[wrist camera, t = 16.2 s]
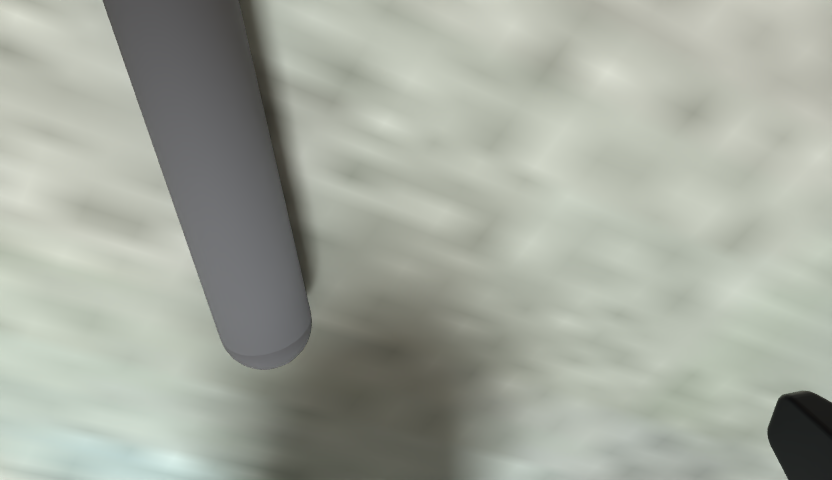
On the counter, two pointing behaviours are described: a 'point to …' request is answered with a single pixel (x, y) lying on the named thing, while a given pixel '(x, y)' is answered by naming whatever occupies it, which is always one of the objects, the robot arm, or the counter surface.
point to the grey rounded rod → (218, 168)
